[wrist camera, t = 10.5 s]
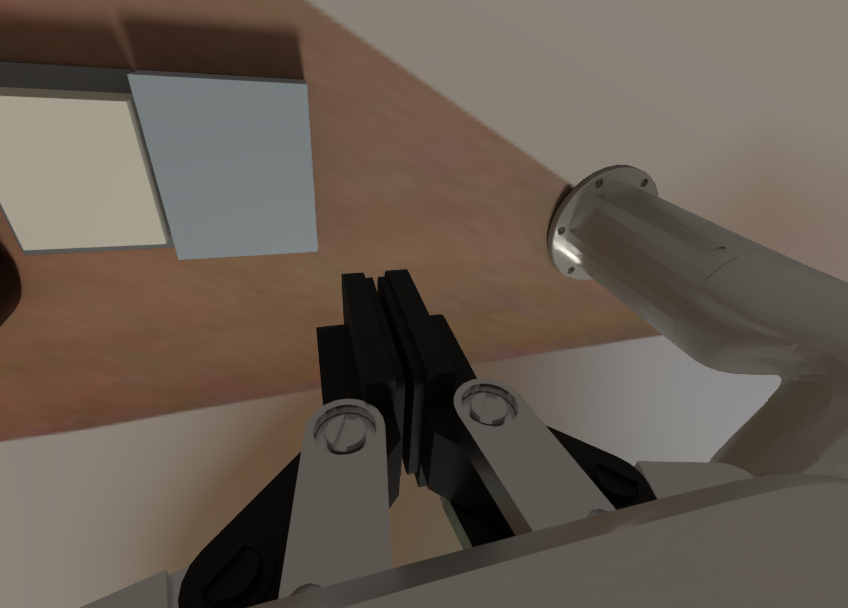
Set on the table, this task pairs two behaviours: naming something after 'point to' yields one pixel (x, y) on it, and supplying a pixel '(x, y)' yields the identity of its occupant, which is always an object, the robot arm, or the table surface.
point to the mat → (75, 81)
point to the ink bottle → (8, 288)
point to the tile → (77, 170)
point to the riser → (230, 161)
